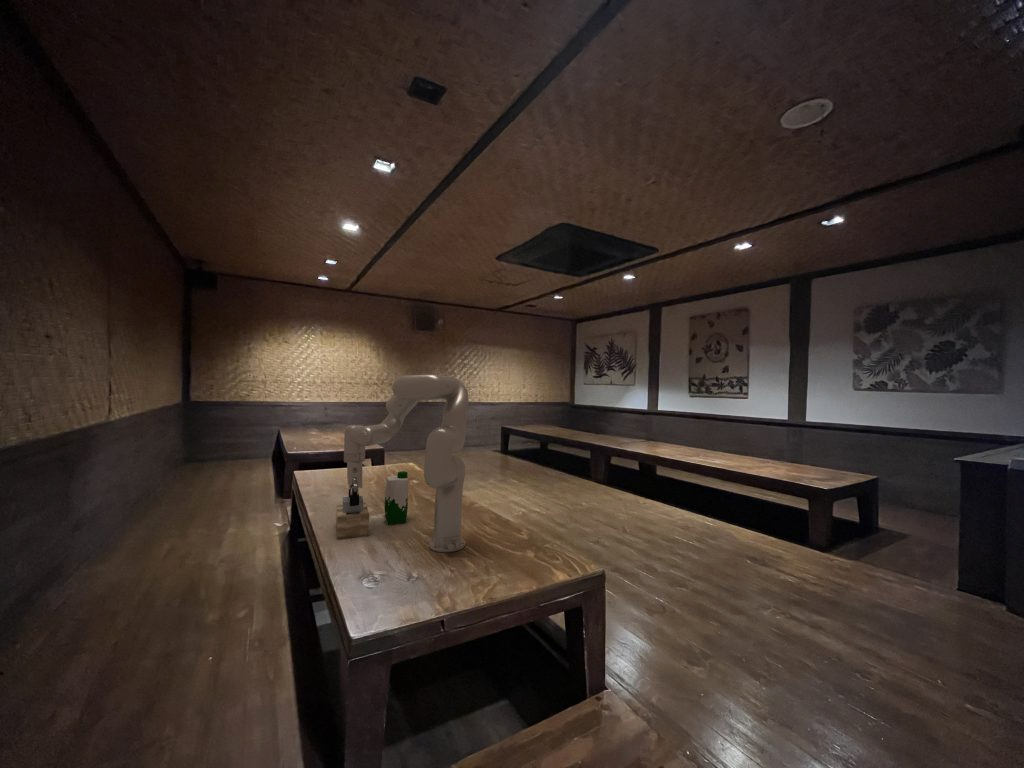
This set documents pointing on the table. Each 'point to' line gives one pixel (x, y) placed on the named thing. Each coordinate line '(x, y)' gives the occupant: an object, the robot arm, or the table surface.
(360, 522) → the slot rack
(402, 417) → the robot arm
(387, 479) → the milk carton
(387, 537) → the table surface
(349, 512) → the t peg
